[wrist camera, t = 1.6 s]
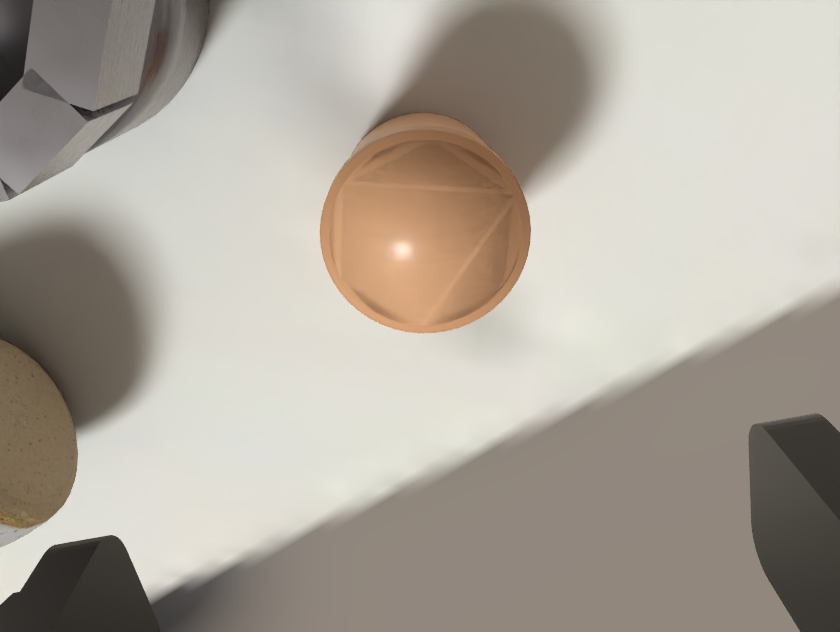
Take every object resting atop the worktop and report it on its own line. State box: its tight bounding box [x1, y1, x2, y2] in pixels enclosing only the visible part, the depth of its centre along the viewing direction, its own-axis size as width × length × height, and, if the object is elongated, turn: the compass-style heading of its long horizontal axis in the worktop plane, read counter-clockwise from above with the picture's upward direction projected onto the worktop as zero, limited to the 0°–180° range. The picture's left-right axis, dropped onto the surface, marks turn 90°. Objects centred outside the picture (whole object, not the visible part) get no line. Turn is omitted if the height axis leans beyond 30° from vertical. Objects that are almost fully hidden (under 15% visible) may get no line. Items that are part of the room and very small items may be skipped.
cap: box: [320, 113, 531, 333], centre depth 24 cm, size 6×6×5 cm
